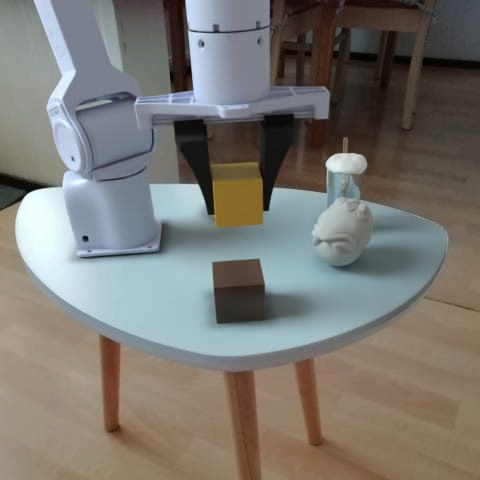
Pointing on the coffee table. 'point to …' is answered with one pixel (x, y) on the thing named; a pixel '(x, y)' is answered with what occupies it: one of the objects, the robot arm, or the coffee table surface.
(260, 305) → the walnut block
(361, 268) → the coffee table surface
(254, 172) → the top cube
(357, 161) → the milkshake
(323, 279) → the coffee table surface
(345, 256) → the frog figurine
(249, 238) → the coffee table surface
